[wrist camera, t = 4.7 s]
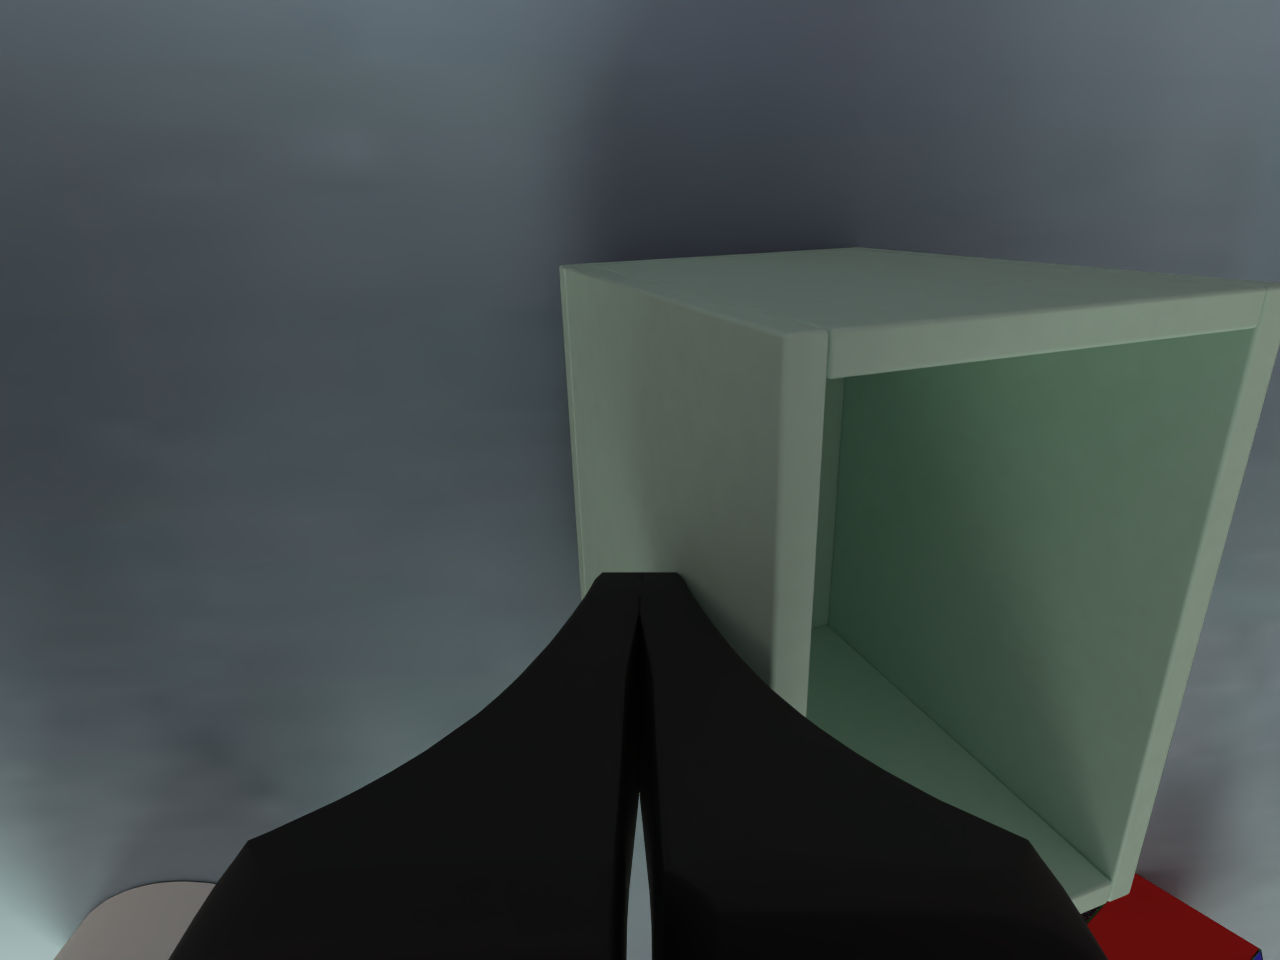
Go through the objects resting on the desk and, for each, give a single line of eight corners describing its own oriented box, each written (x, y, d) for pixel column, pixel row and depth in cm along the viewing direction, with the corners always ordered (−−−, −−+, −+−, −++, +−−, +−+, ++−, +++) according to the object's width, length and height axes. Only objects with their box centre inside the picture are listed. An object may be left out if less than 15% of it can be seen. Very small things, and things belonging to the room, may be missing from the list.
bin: (586, 684, 18) (757, 1049, 10) (558, 264, 15) (785, 333, 7) (832, 627, 21) (1131, 895, 13) (859, 246, 17) (1298, 283, 9)
